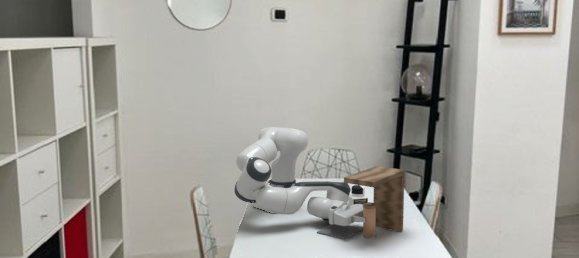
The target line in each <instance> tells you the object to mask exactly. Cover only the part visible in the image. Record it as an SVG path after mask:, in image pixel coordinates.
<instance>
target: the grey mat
mask: <svg viewBox="0 0 579 258" xmlns="http://www.w3.org/2000/svg"><path fill="white" fill-rule="evenodd" d="M360 231H363V227H359V226H358V227H357V226H353V225H351V224H350V225H348V226H341V225H336V224H334V225H332V224H329V225H328V226H326V227H324V228H322V229H320V230H317V231H316V234H320V235H324V236H327V237H332V238H337V239H339V240H340V239H341V240H345V239H347V238H349V237H351V236H353V235H354V234H355V235H356V234H357V233H359V232H360Z"/></svg>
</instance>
